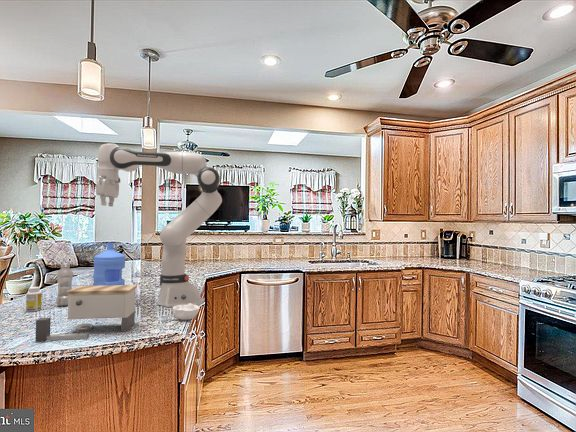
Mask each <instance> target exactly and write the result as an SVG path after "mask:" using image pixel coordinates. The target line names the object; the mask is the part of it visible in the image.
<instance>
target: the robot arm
mask: <svg viewBox="0 0 576 432" xmlns="http://www.w3.org/2000/svg"><path fill="white" fill-rule="evenodd" d="M97 153H98V154H97V164H98V167H97V168H98V169H97V180H96V184H95V185H96V187H95V194H96V195H97V196H99V198H100V204H101V206H108V207H114V204H115V203H114V201H115V199H117V198H118V197H119V195H120V194H119V193H120V183H121V178H120V176H119V171H120V170H121V171H125V172H135V171H137V170H138V169H139V167H140V166H146V167H147V166H149V167H157V168H160V169H161V170H165V171H167V172H169V173H171V174H179V175H192V176H195V177H196V178H197V184H198V186H199V187H200V188H201V190H202V191H201V193H200V195H199V196H198V197H197V198H195V200H194V201H192V203H190V205H188V206H187V207H186V208H185V209H184V210H182V212H180V213H179V214H178V215H177V216H175V217H174V218H172V220H170V222H168V223H167V224H166V225H165V226H163V227H162V228H161V230H160V232H159V239H160V242H161V243H162V244H163V249H162V253H161V254H162V255H161V265H160V266H161V268H160V269H161V272H160V277H159V285H160V288H159V295H158V300H157V303H156V304H157V305H158V306H162V307H165V308H173V307H174V306H177V305H188V304H189V303H191V304H193V305H197V306H201V305H203V304H204V303H205V298H204V297H201V293H200V290H199V288H198V287H197V286H196V285H194V284H193V283H192V282H190V281H189V280H190V276H189V274H187V273H185V271H186V269H185V266H186V252H187V251H186V250H187V249H186V248H187V238H188V237H190V235H191V234H193V233H194V232H195V231H196V230H198V228H200V227H201V226H202V225H203V224H204V223H205V222H206V221H207V220H208V219H209V218H210V217H212V215H214V213H215V212H216V211H217V210H218V209H219V207H220V206H221V204H222V203H223V198H222V195H221V194H220V193H219V191H218V187H219V185H220V183H221V177H220V174H219V172H218V171H217V170H216V169H215V168H213V167H209V166H207V159H206V158H205V156H204V155H203V154H200V153H196V152H191V151H166V152H164V151H163V152H154V151H153V152H152V151H150V152H149V151H139V150H138V151H137V150H136V151H135V150H133V149H130V148H129V147H127V146H126V147H125V146H119V145H118V144H116V143H115V142H114V143H113V142H110V143H109V142H108V143H107V142H106V143H103V144H101V145H100V146H99V148H98V152H97ZM107 198H108V205H107Z"/></svg>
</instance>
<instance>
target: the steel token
mask: <svg viewBox="0 0 576 432" xmlns="http://www.w3.org/2000/svg"><path fill="white" fill-rule="evenodd" d="M92 325H93V324H92V323H88V322H87V323H81V324H78V325H76V326H75V331H77V332H86V331H90V330H91V329H92V328H93V327H92Z"/></svg>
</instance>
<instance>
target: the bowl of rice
mask: <svg viewBox="0 0 576 432" xmlns="http://www.w3.org/2000/svg"><path fill="white" fill-rule="evenodd" d="M200 307H201V305H193V304H191V303H189V304H188V305H177V306H174V307H172V315H173V316H174V317H175V318H176V319H179V320H180V321H190V320H193V319H195V317H196V316H197V315H198V313H199V310H200V309H201V308H200Z"/></svg>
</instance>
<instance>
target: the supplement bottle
mask: <svg viewBox="0 0 576 432" xmlns="http://www.w3.org/2000/svg"><path fill="white" fill-rule="evenodd" d="M40 289H41V287H40V286H33V287H32V286H31V287H28V292H26V294H25V295H26V299H25V303H26V304H25V308H26V312H28V313H29V312H30V313H31V312H39V311H41V310H42V309H43V308H42V307H43V306H42V303H43V302H42V301H43V299H42V297H43V292H42V291H41V290H40Z"/></svg>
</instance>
